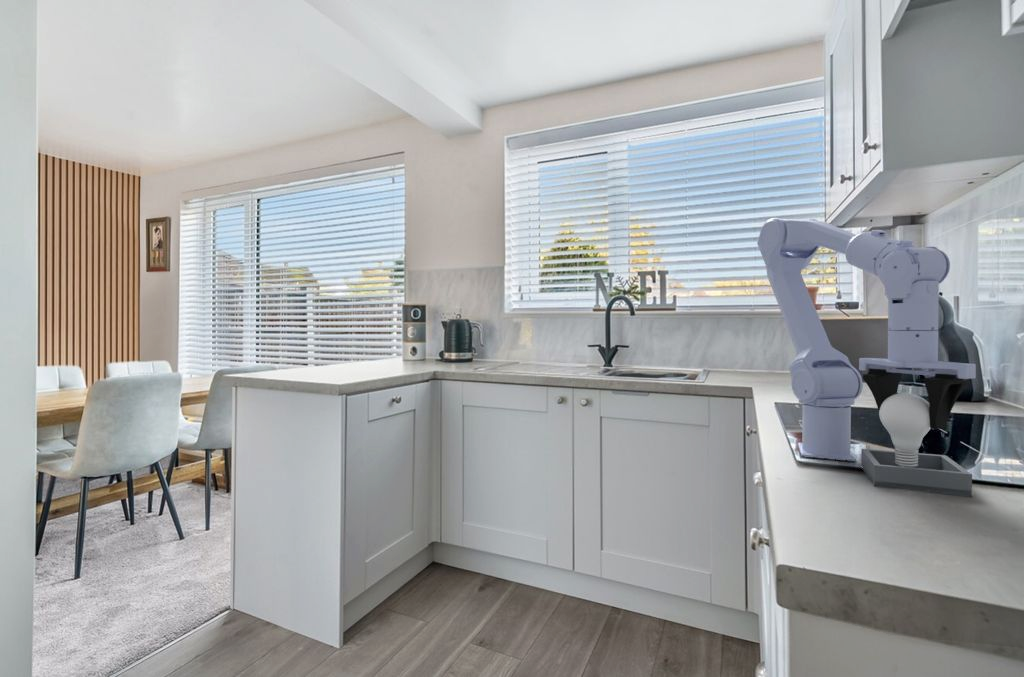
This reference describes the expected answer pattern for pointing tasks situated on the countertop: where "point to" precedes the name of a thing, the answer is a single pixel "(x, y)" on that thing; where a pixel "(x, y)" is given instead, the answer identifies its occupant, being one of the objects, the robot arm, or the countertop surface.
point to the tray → (917, 473)
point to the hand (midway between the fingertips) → (911, 423)
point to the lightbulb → (906, 425)
